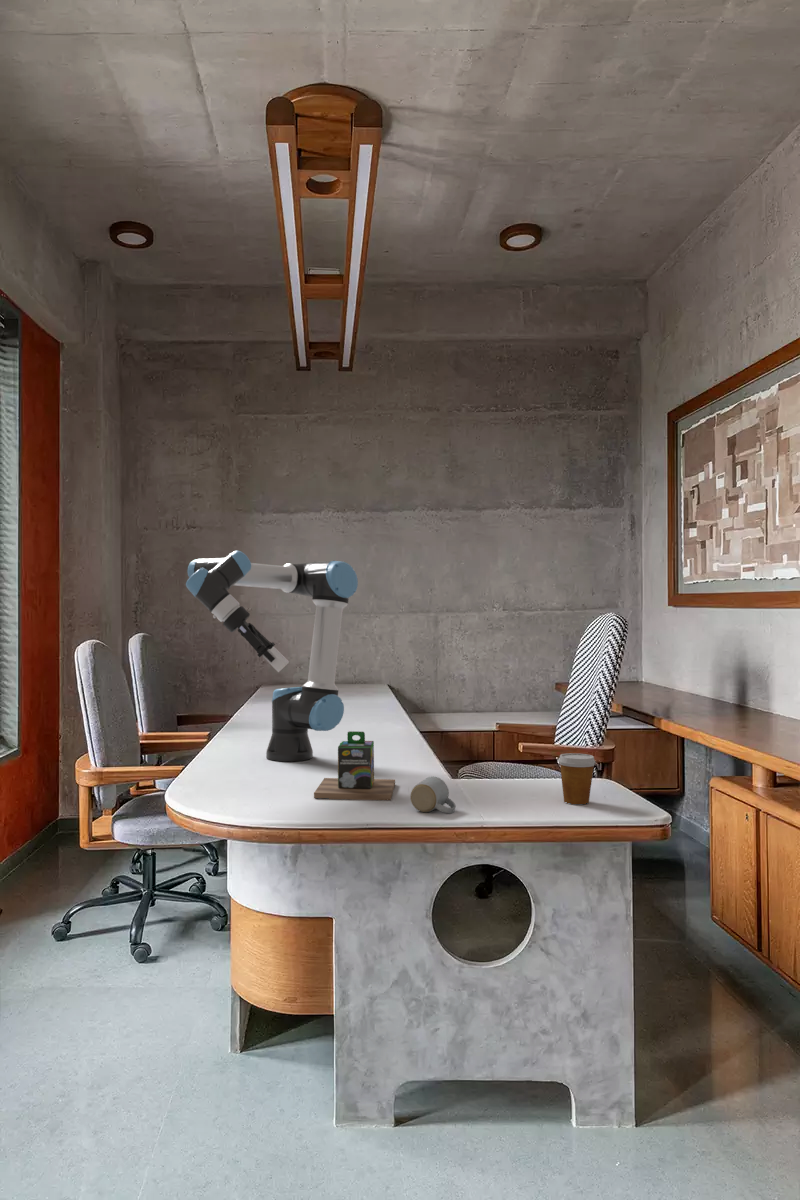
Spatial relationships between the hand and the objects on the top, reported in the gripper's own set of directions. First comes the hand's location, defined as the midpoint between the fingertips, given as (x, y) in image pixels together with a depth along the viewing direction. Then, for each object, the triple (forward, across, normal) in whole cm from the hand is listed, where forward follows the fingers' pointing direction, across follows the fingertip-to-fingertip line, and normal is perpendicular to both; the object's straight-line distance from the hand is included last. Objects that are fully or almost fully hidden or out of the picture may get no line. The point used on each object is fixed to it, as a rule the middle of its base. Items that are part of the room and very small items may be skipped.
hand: (284, 667), depth 255 cm
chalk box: (+37, +14, -7) cm, 40 cm away
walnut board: (+38, +14, -8) cm, 41 cm away
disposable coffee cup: (+78, +27, +32) cm, 89 cm away
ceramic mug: (+52, +36, +5) cm, 63 cm away
